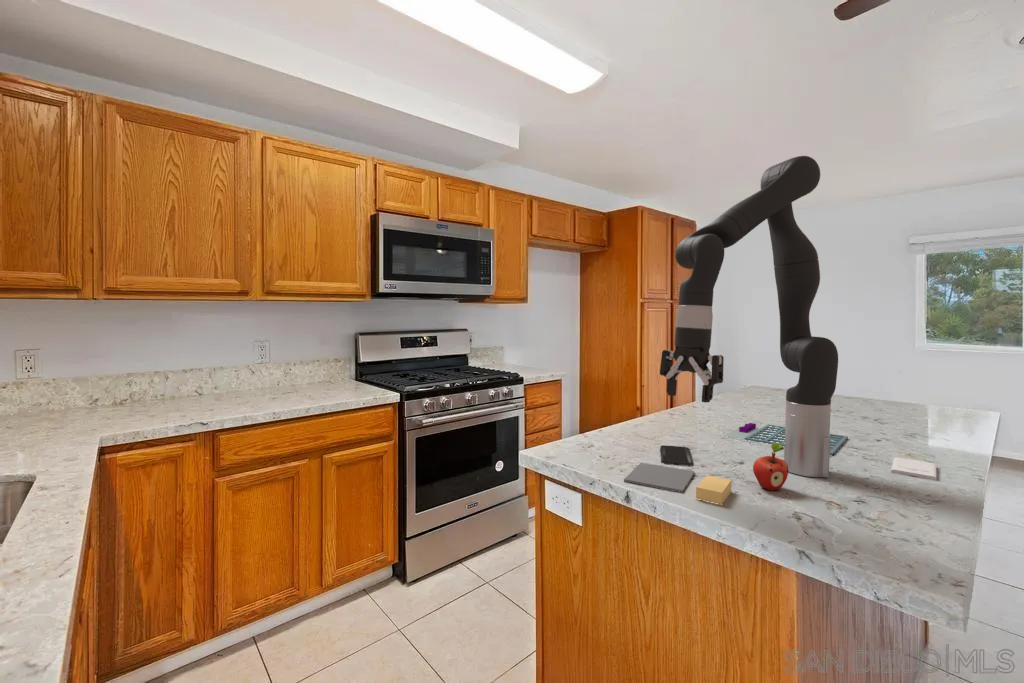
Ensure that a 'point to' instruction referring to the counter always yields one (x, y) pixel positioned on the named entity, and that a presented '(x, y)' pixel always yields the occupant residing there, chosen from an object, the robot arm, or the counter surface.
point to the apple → (771, 470)
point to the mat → (660, 477)
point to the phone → (675, 455)
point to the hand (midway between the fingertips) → (688, 398)
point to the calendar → (753, 431)
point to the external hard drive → (914, 468)
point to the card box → (714, 489)
